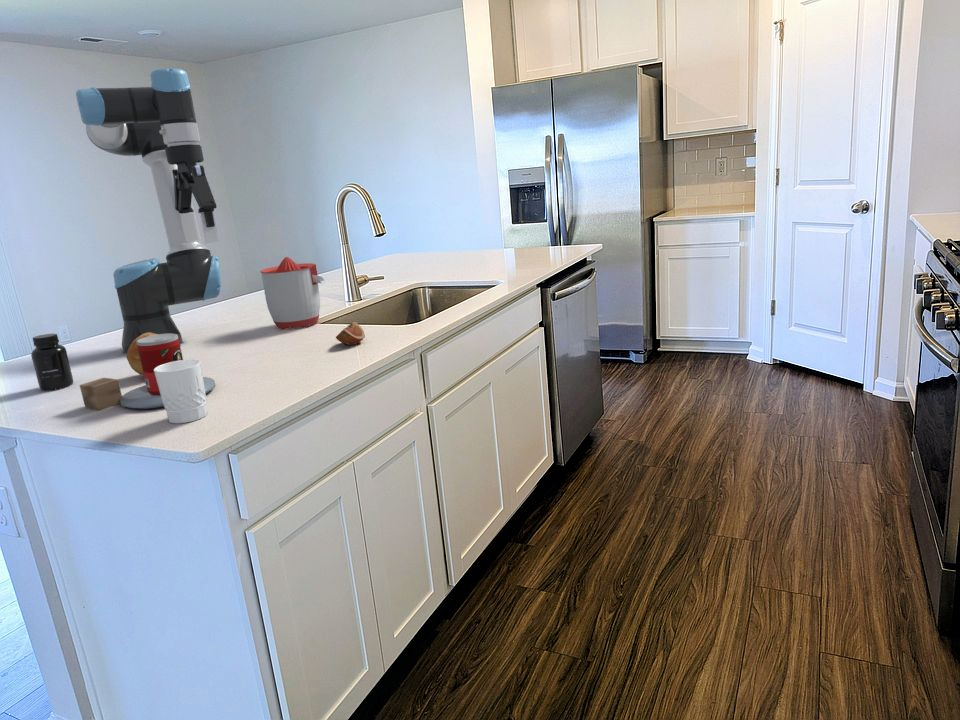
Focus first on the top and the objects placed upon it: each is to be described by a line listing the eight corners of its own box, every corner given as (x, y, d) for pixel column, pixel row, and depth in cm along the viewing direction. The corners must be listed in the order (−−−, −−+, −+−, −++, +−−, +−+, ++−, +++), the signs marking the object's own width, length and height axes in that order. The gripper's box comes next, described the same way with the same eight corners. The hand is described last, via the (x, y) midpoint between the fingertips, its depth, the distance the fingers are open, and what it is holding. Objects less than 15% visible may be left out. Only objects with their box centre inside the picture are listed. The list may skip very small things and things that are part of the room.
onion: (132, 374, 162) (123, 333, 159) (178, 366, 166) (169, 326, 163) (130, 384, 153) (120, 341, 151) (178, 376, 157) (169, 333, 154)
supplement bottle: (49, 392, 153) (35, 340, 150) (34, 390, 157) (20, 338, 153) (80, 383, 158) (67, 332, 155) (64, 381, 162) (51, 331, 159)
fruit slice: (357, 348, 167) (354, 328, 166) (331, 349, 169) (328, 329, 168) (369, 339, 175) (366, 320, 174) (344, 340, 177) (342, 321, 175)
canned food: (174, 395, 137) (162, 341, 134) (139, 396, 139) (126, 343, 136) (196, 383, 144) (186, 332, 141) (163, 384, 146) (152, 333, 143)
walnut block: (85, 408, 139) (79, 385, 138) (108, 400, 143) (103, 377, 142) (100, 411, 136) (94, 387, 135) (123, 402, 141) (117, 379, 139)
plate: (111, 399, 143) (110, 393, 143) (199, 377, 154) (197, 371, 154) (135, 417, 130) (133, 411, 129) (228, 392, 141) (227, 386, 140)
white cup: (174, 412, 131) (162, 362, 128) (216, 407, 131) (205, 357, 128) (159, 427, 123) (146, 373, 120) (203, 422, 124) (192, 368, 121)
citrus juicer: (323, 328, 193) (312, 257, 188) (262, 333, 194) (250, 262, 189) (335, 316, 208) (325, 250, 203) (279, 321, 209) (267, 255, 204)
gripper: (148, 150, 159) (168, 242, 165) (183, 140, 140) (204, 245, 146) (182, 148, 164) (199, 238, 169) (219, 138, 145) (238, 240, 151)
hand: (201, 241), depth 158 cm, fingers open, 13 cm apart
